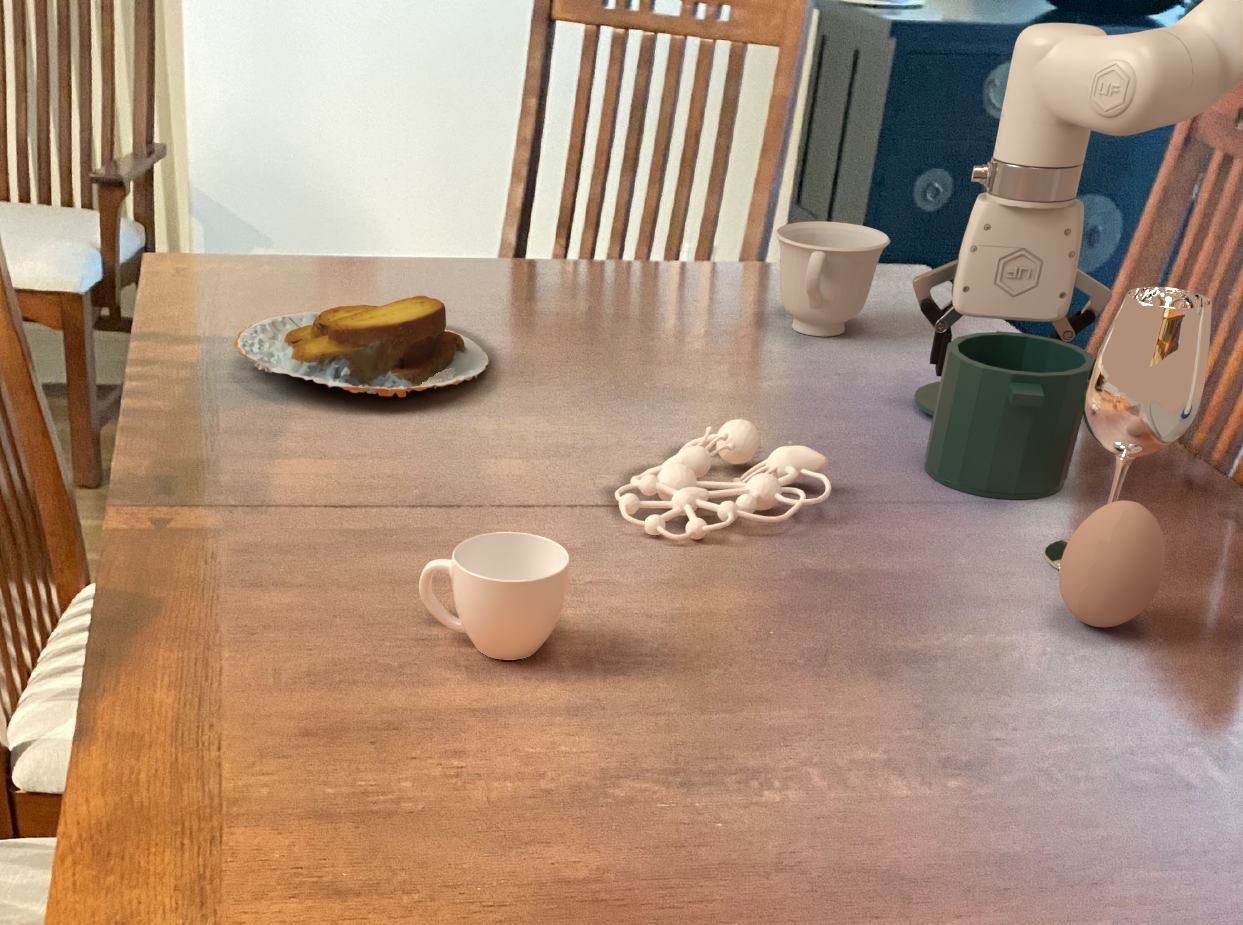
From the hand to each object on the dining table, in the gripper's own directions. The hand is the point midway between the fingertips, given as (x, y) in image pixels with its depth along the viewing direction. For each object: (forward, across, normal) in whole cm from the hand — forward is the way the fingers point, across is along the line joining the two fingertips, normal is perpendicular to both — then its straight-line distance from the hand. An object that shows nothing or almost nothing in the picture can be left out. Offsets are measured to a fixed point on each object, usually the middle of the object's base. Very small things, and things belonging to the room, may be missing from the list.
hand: (992, 376), depth 141 cm
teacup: (+4, -16, +22) cm, 28 cm away
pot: (+4, 0, -16) cm, 16 cm away
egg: (+4, +5, -44) cm, 44 cm away
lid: (+3, 0, 0) cm, 3 cm away
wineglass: (+4, +6, -33) cm, 34 cm away
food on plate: (+3, -60, -4) cm, 61 cm away
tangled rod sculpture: (+4, -22, -29) cm, 37 cm away
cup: (+4, -36, -58) cm, 68 cm away
